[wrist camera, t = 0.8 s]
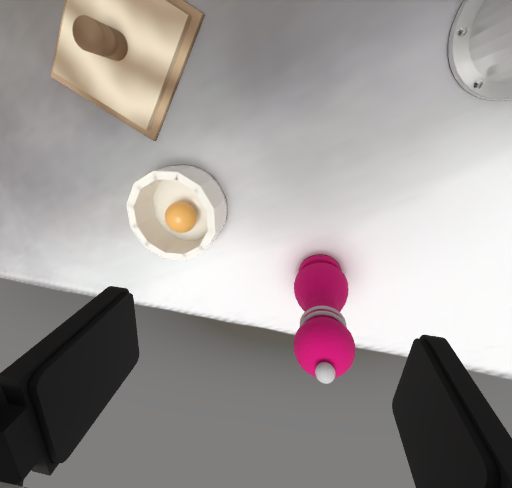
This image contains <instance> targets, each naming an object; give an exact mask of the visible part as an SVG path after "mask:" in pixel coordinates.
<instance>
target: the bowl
mask: <svg viewBox="0 0 512 488" xmlns="http://www.w3.org/2000/svg"><path fill="white" fill-rule="evenodd" d="M178 201H183V202H187V203H189V204H190V205H192V206H193V207H194V209H195V211H196V213H197V222H196V224H195V226H194V227H193V228H192V229H191V230H190V231H188V232H185V233H178V232H175V231H173V230H171V229H170V228H169V227H168V226H167V224H166V222H165V212H166V210H167V208H168V207H169V206H170V205H171V204H172V203H174V202H178ZM126 205H127V210H128V216H129V222H130V227H131V229H132V230H133V232H134V233H135V234H136V236H137V237H138V239H139V240H140V242H141V243H142V244H143V246H144V247H145V248H147V249H149V250H150V251H152V252H154V253H155V254H157V255H159V256H160V257H162V258H164V259H170V260H182V261H187V260H189V259H191V258H193V257H195V256H197V255H199V254H201V253H203V252H205V251H206V250H207V249H208V247H209V246H210V245H211V244H212V243H213V241H214V240H215V239H216V238H217V236H218V234H219V232H220V231H221V230H222V228H223V226H224V224H225V222H226V218H227V202H226V198H225V195H224V192H223V190H222V189H221V187H220V185H219V184H218V183H217V181H216V180H215V179H214V178H213V177H212V176H211V175H209V174H208V173H207V172H205V171H203V170H202V169H199V168H197V167H194V166H188V165H179V166H168V167H165V168H162V169H158V170H155V171H152V172H151V173H149V174H148V175H146V176H145V177H143V178H142V179H140V180H139V181H137V182H135V183H134V185H133V188H132V191H131V193H130V196H129V199H128V201H127V204H126Z"/></svg>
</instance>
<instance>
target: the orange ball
mask: <svg viewBox="0 0 512 488" xmlns="http://www.w3.org/2000/svg"><path fill="white" fill-rule="evenodd" d="M165 222H166V224H167V226H168V227H169V228H170V229H171V230H173V231H175V232H178V233H185V232H188V231H190V230H191V229H192V228H193V227H194V226H195V224H196V222H197V213H196V211H195V209H194V207H193V206H192V205H190V204H189V203H187V202H183V201H178V202H174V203H172V204H171V205H170V206H169V207H168V208H167V210H166V212H165Z"/></svg>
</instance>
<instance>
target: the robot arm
mask: <svg viewBox="0 0 512 488" xmlns="http://www.w3.org/2000/svg"><path fill="white" fill-rule="evenodd" d="M458 31H460V32H461V34H460V36H459V35H458ZM448 58H449V62H450V67H451V70H452V73H453V75H454V77H455V79H456V80H457V82H458V83H459V84H460V85H461V87H462V88H463V89H465V90H466V91H467V92H469V93H470V94H472V95H474V96H476V97H479V98H481V99H486V100H491V101H502V100H511V99H512V0H464V2H463V3H462V5H461V7H460V9H459V11H458V13H457V15H456V17H455V20H454V23H453V25H452V28H451V32H450V38H449V43H448ZM474 83H476V87H475V88H474ZM138 358H139V347H138V337H137V328H136V319H135V310H134V300H133V295H132V294H131V293H129V291H128V289H126V288H120V287H113V286H110V287H108V288H106V289H105V290H104V291H103V292H101V293H100V294H99V295H98V296H96V297H95V298H94V299H93V300H91V301H90V302H89V303H88V304H86V305H85V306H84V307H83V308H81V309H80V310H79V311H78V312H76V313H75V314H74V315H73V316H71V317H70V318H69V319H68V320H66V321H65V322H64V323H63V324H61V325H60V326H59V327H58V328H56V329H55V330H54V331H53V332H52V333H50V334H49V335H48V336H46V337H45V338H44V339H43V340H41V341H40V342H39V343H38V344H36V345H35V346H34V347H33V348H31V349H30V350H29V351H28V352H26V353H25V354H24V355H23V356H21V357H20V358H19V359H18V360H16V361H15V362H14V363H13V364H12V365H10V366H9V367H8V368H6V369H5V370H4V371H3V372H1V373H0V488H26V487H23V481H24V478H25V477H26V476H27V474H28V473H29V472H30V471H31V470H32V471H34V472H38V473H42V474H46V475H51V474H52V472H53V471H54V470H55V468H56V467H57V465H58V464H59V463H63V462H64V461H66V460H67V458H68V457H69V456H70V455H71V453H72V452H73V451H74V449H75V448H76V446H77V445H78V444H79V442H80V441H81V439H82V438H83V437H84V435H85V434H86V433H87V431H88V430H89V429H90V427H91V426H92V424H93V423H94V421H95V420H96V419H97V417H98V416H99V414H100V413H101V412H102V410H103V409H104V408H105V406H106V405H107V403H108V402H109V401H110V399H111V398H112V397H113V395H114V394H115V393H116V391H117V390H118V388H119V387H120V386H121V384H122V382H123V381H124V380H125V379H126V377H127V376H128V375H129V373H130V372H131V370H132V369H133V368H134V366H135V365H136V363H137V361H138ZM392 409H393V414H394V417H395V421H396V424H397V427H398V430H399V433H400V437H401V440H402V443H403V447H404V450H405V453H406V456H407V460H408V463H409V466H410V469H411V473H412V476H413V479H414V483H415V486H416V488H512V438H511V437H510V435H509V434H508V432H507V431H506V429H505V428H504V426H503V425H502V423H501V422H500V420H499V419H498V417H497V416H496V414H495V413H494V411H493V410H492V408H491V407H490V405H489V403H488V402H487V401H486V399H485V398H484V396H483V394H482V393H481V391H480V390H479V388H478V387H477V385H476V384H475V382H474V381H473V379H472V378H471V376H470V375H469V373H468V372H467V370H466V369H465V367H464V366H463V364H462V363H461V361H460V360H459V358H458V357H457V355H456V354H455V352H454V351H453V349H452V348H451V346H450V345H449V343H448V342H447V340H446V339H445V338H442V337H435V336H429V335H422V336H421V337H420V339H415V340H414V342H413V344H412V347H411V350H410V353H409V356H408V359H407V361H406V364H405V367H404V370H403V373H402V376H401V378H400V381H399V384H398V387H397V390H396V393H395V395H394V398H393V403H392Z"/></svg>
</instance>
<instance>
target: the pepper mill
mask: <svg viewBox="0 0 512 488" xmlns="http://www.w3.org/2000/svg"><path fill="white" fill-rule="evenodd" d="M294 292H295V297H296V299H297V301H298V303H299V305H300V306H301V308H302V309H303V310H304V311H305V313H304V314H303V315H302V317H301V319H300V328H299V329H298V331H297V333H296V335H295V339H294V352H295V356H296V358H297V361H298V362H299V364H300V365H301V367H302V368H303V369H304V370H305V371H306V372H308V373H309V374H311V375H313V376H315V377H317V379H318V380H319V381H320V382H322V383H325V384H327V383H330V382H332V381H333V380H334V378H335V377H338V376H341V375H342V374H344V373H345V372H346V371H347V370H348V369H349V368H350V367H351V365H352V363H353V360H354V357H355V343H354V340H353V337H352V335H351V333H350V332H349V330H348V329H347V327H346V322H345V319H344V317H343V316H342V314H341V313H340V311H341V309H342V308H343V306H344V305H345V303H346V300H347V297H348V283H347V279H346V277H345V276H344V274H343V273H342V272H341V268H340V266H339V264H338V263H337V262H336V261H335V260H334V259H333V258H331V257H329V256H326V255H314V256H311V257H309V258H307V259H306V260H305V261H304V262H303V263H302V264H301V266H300V269H299V273H298V275H297V277H296V279H295V283H294Z"/></svg>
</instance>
